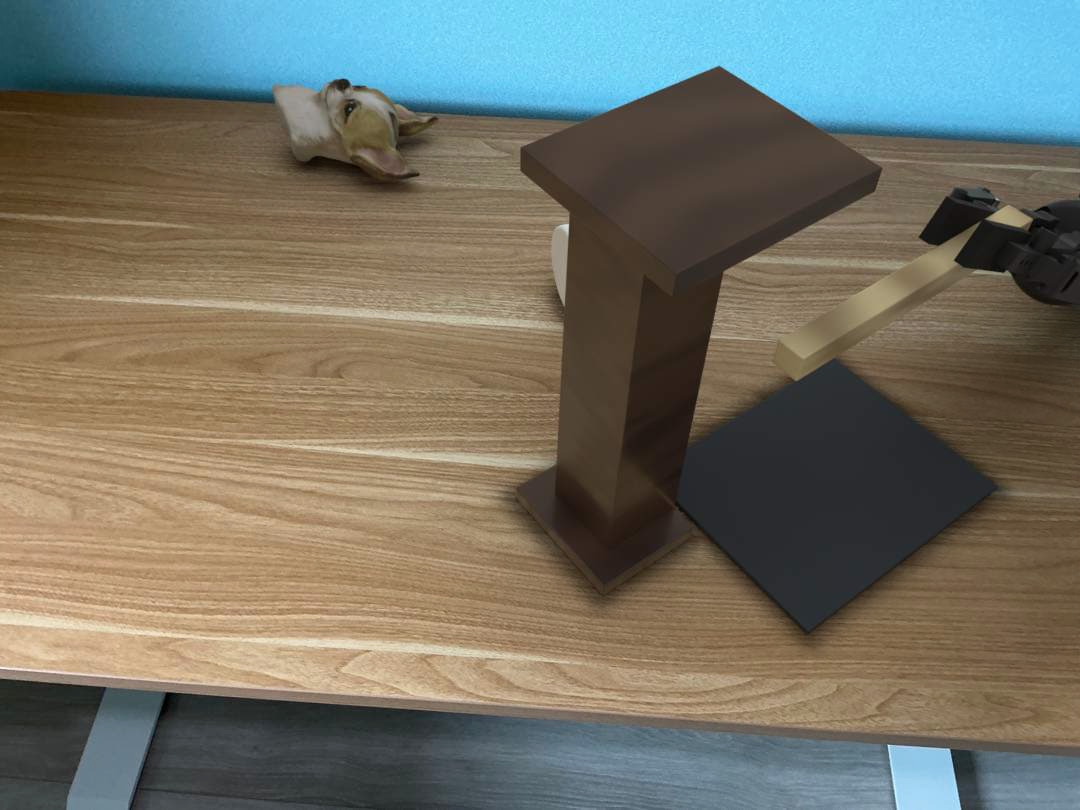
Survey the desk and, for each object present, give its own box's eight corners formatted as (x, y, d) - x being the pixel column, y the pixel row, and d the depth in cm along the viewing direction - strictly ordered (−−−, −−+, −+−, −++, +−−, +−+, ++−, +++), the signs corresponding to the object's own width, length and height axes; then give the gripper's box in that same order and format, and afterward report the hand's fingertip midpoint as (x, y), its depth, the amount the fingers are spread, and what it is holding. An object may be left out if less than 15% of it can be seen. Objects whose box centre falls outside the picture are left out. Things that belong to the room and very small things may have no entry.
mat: (996, 489, 73) (998, 485, 72) (807, 634, 64) (808, 631, 64) (832, 360, 81) (833, 357, 81) (646, 475, 73) (646, 471, 72)
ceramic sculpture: (287, 40, 95) (440, 62, 95) (296, 118, 102) (440, 139, 102) (251, 101, 88) (417, 125, 88) (264, 181, 95) (418, 203, 95)
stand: (772, 499, 72) (883, 167, 50) (612, 607, 66) (660, 282, 44) (662, 398, 78) (719, 65, 56) (506, 488, 72) (503, 153, 50)
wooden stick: (998, 227, 62) (1008, 203, 61) (1022, 242, 61) (1034, 219, 60) (771, 362, 54) (778, 339, 53) (795, 382, 53) (803, 359, 52)
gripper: (1133, 356, 71) (1025, 363, 54) (963, 246, 79) (820, 221, 61) (1209, 266, 67) (1119, 243, 50) (1024, 160, 75) (890, 109, 58)
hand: (955, 231), depth 56 cm, fingers closed on wooden stick, 2 cm apart
